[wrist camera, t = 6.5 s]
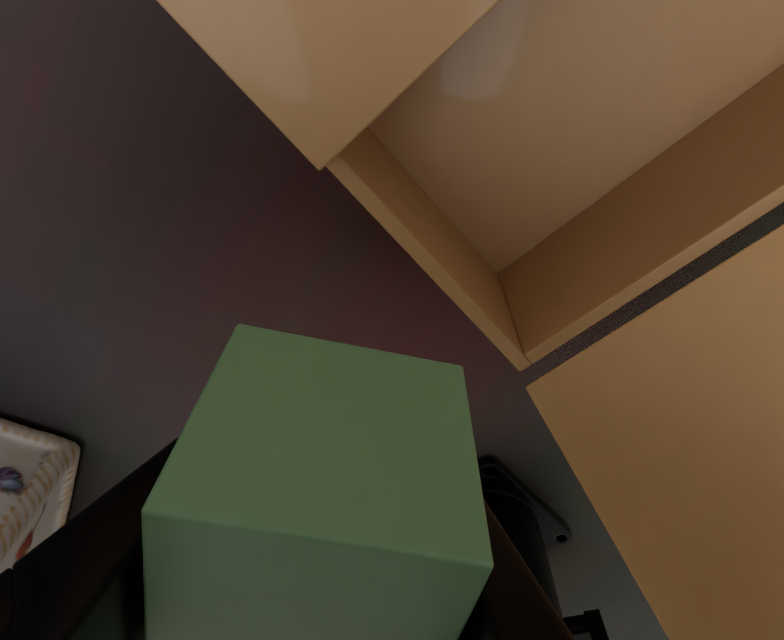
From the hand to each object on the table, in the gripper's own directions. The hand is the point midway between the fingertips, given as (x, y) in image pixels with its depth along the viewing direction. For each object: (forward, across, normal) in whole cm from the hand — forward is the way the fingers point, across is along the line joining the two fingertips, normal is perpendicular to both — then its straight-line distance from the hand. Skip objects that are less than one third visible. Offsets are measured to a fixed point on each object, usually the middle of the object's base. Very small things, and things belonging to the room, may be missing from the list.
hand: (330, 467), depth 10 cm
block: (+1, 0, 0) cm, 1 cm away
